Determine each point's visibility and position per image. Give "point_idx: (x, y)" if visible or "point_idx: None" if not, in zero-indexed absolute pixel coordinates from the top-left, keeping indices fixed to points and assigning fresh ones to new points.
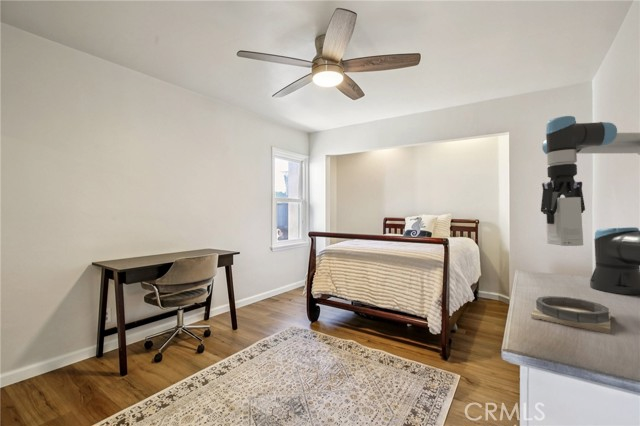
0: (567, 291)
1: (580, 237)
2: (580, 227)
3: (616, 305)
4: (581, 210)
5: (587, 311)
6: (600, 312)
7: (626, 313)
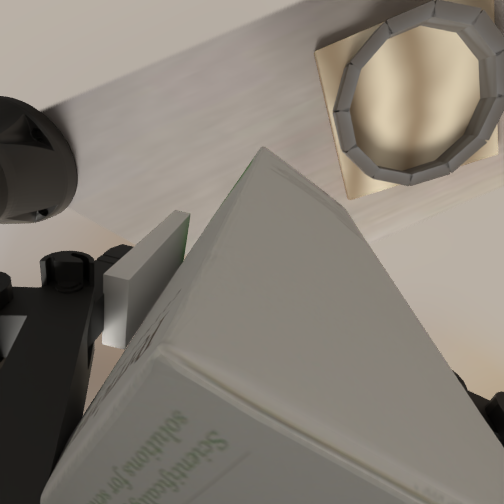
0: (161, 221)
1: (272, 160)
2: (269, 169)
3: (192, 91)
4: (45, 277)
5: (361, 87)
6: (458, 10)
7: (251, 41)
